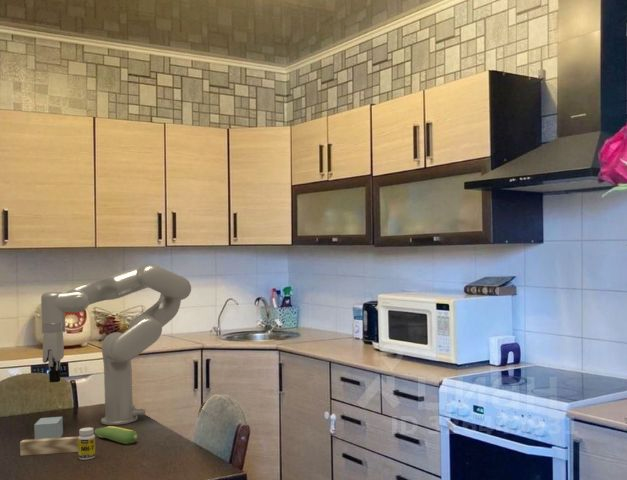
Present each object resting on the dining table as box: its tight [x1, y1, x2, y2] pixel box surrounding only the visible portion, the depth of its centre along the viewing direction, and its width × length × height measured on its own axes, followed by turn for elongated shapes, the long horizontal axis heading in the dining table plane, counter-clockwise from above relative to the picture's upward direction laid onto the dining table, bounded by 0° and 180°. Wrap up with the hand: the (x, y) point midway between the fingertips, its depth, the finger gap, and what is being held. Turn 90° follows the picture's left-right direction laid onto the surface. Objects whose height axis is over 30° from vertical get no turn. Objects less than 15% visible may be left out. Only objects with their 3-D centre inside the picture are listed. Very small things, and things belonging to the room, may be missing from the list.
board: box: [19, 436, 79, 457], centre depth 208 cm, size 20×2×4 cm, turn 96°
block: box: [33, 416, 64, 439], centre depth 224 cm, size 7×9×6 cm
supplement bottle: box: [77, 427, 96, 461], centre depth 201 cm, size 5×5×8 cm
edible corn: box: [93, 425, 138, 445], centre depth 219 cm, size 5×20×5 cm, turn 52°
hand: (55, 381), depth 234 cm, fingers closed
